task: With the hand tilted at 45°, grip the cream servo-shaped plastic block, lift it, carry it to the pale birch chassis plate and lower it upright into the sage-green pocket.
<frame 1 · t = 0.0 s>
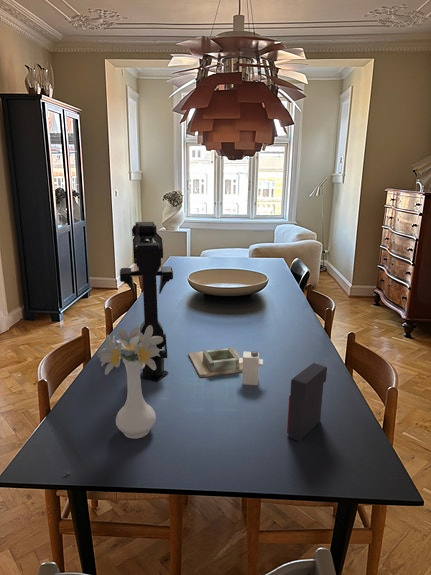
hand: (147, 294, 154), 15 cm above the table, tool pointing down, fingers open, 9 cm apart
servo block: (250, 381, 122), on the table
chassis plate: (220, 366, 131), on the table
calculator: (304, 429, 99), on the table
flower vase: (135, 430, 99), on the table
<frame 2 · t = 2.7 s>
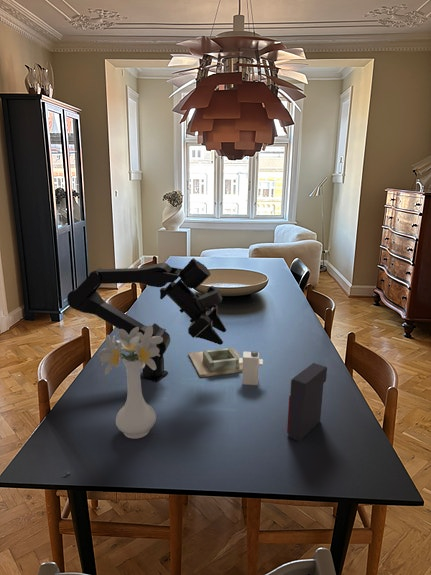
hand: (223, 337, 119), 13 cm above the table, tool tilted 45°, fingers open, 9 cm apart
nothing on the table moved.
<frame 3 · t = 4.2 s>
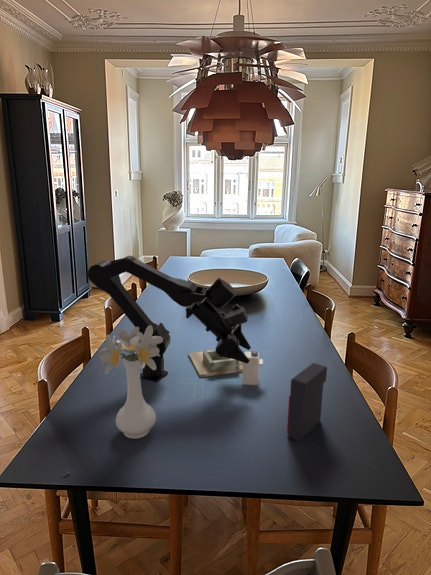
hand: (249, 355, 120), 8 cm above the table, tool tilted 45°, fingers open, 9 cm apart
nothing on the table moved.
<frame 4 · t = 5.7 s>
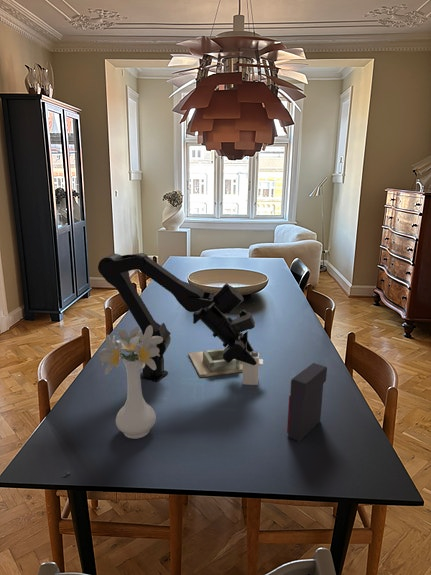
hand: (255, 360, 120), 7 cm above the table, tool tilted 45°, fingers closed on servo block, 4 cm apart
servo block: (250, 381, 122), on the table, touching gripper
everything else where it was.
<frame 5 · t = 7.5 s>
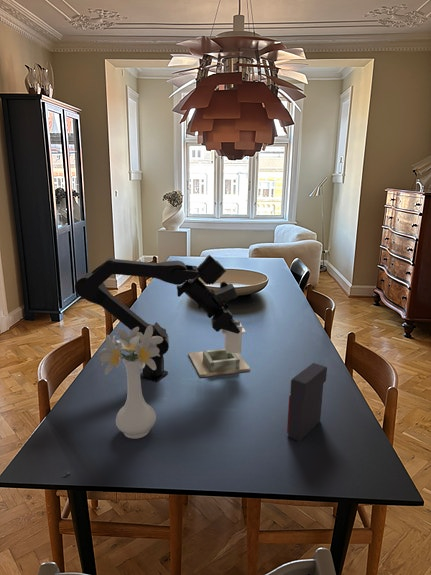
hand: (237, 329, 124), 14 cm above the table, tool tilted 45°, fingers closed on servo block, 4 cm apart
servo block: (232, 350, 126), point 7 cm above the table, touching gripper
everything else where it was.
when the fingers open (9 cm above the table, at t = 9.4 s): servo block drops 1 cm, resting on chassis plate.
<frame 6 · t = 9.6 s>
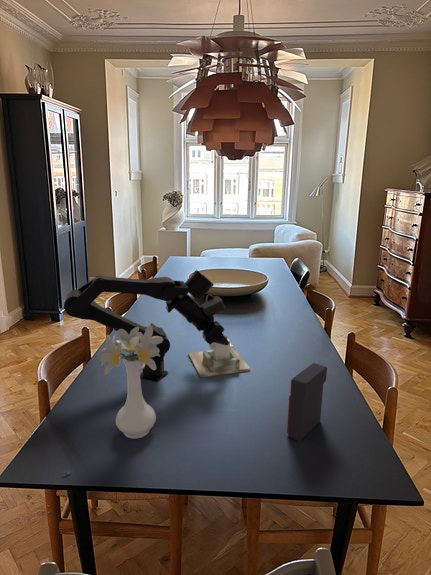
hand: (225, 340, 129), 9 cm above the table, tool tilted 45°, fingers open, 6 cm apart
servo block: (220, 364, 131), point 1 cm above the table, touching chassis plate
everything else where it was.
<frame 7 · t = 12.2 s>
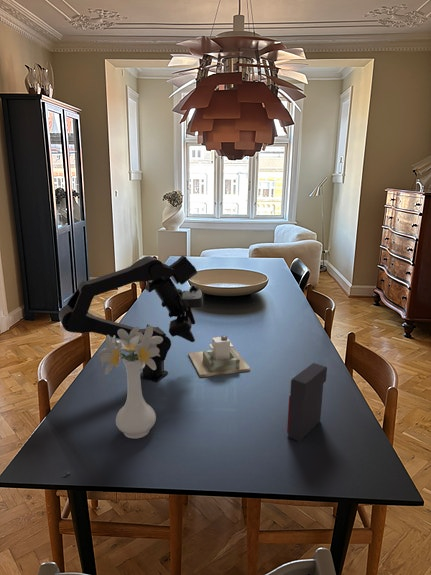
hand: (193, 332, 128), 11 cm above the table, tool tilted 30°, fingers open, 9 cm apart
nothing on the table moved.
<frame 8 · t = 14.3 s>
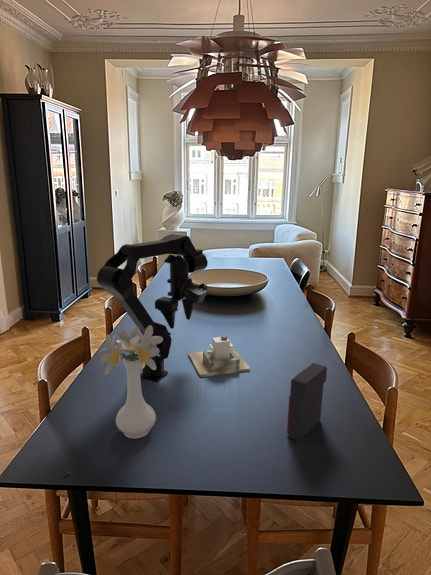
hand: (180, 323, 131), 13 cm above the table, tool pointing down, fingers open, 9 cm apart
nothing on the table moved.
at the end: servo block 0.1 cm off-centre on the chassis plate, point 0.8 cm above the chassis plate's base; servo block tilted 0°; the gripper is holding nothing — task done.
